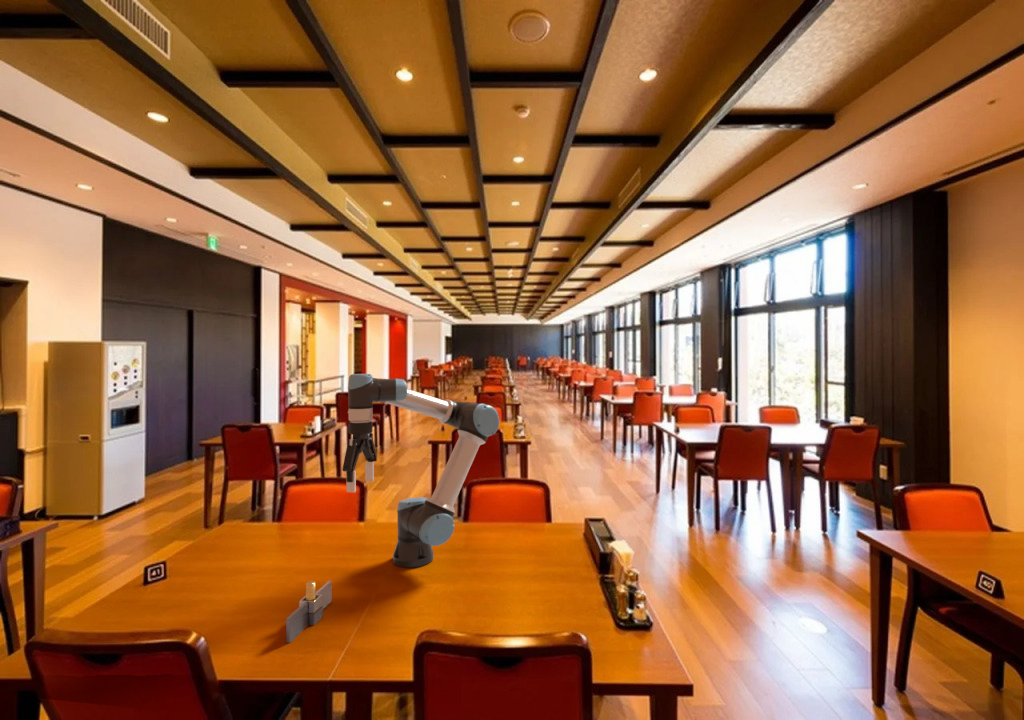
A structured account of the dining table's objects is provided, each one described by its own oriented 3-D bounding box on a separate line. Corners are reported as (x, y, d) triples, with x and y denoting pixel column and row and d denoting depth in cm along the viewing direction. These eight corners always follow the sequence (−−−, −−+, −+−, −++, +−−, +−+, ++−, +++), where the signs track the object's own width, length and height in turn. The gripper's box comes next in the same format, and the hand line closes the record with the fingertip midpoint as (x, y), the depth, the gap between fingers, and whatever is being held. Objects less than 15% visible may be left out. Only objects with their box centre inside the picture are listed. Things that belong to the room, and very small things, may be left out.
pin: (309, 617, 144) (309, 580, 144) (317, 618, 144) (317, 581, 144) (304, 622, 141) (304, 584, 141) (312, 623, 141) (312, 585, 141)
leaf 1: (323, 600, 154) (323, 580, 154) (337, 601, 153) (336, 581, 153) (299, 623, 141) (299, 601, 141) (314, 624, 140) (314, 602, 140)
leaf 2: (308, 615, 145) (308, 593, 145) (322, 616, 145) (322, 594, 145) (280, 642, 132) (280, 617, 132) (296, 643, 131) (296, 619, 131)
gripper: (366, 416, 172) (366, 476, 172) (330, 426, 148) (330, 496, 148) (386, 416, 171) (386, 477, 171) (354, 426, 147) (354, 497, 147)
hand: (360, 486), depth 159 cm, fingers open, 13 cm apart
